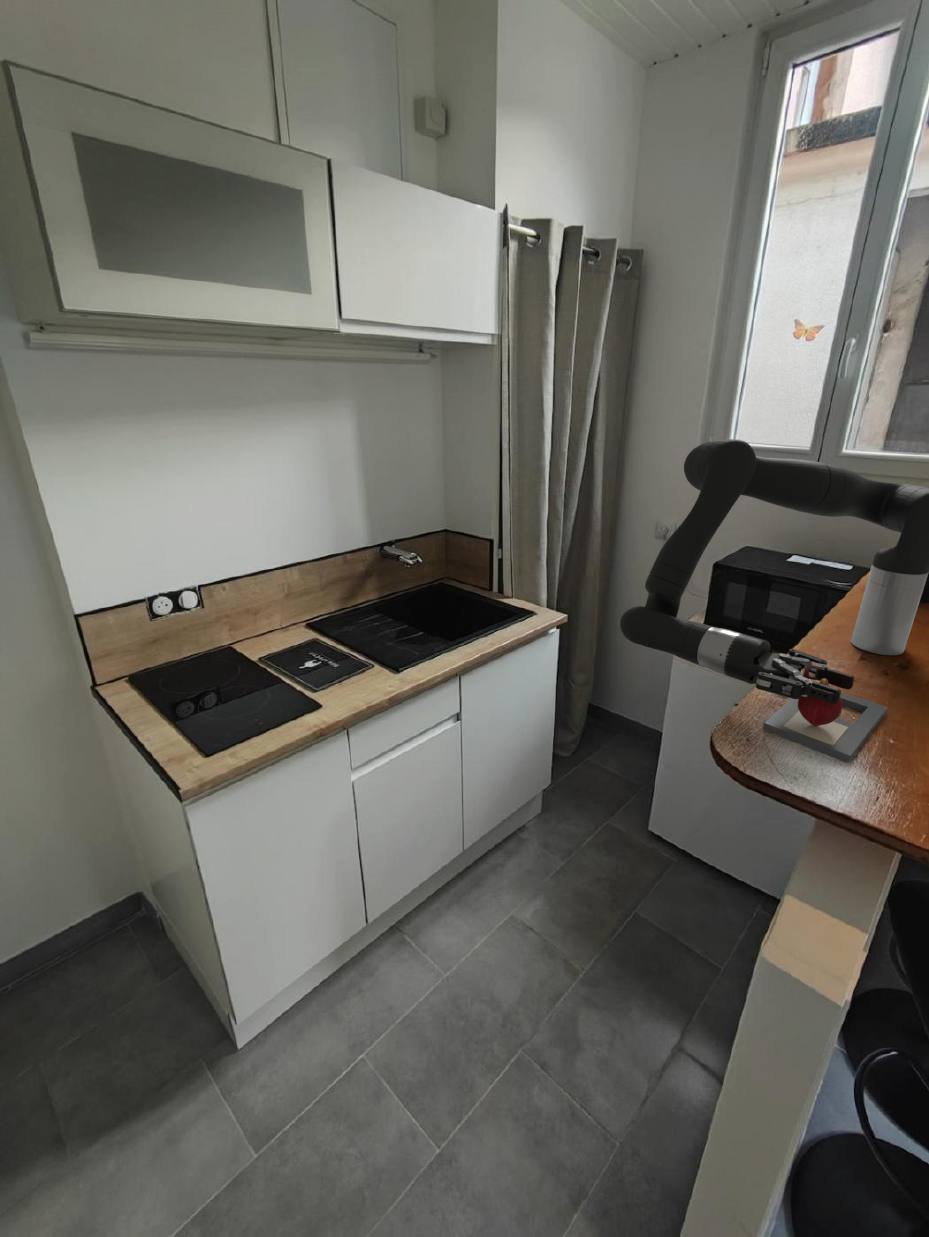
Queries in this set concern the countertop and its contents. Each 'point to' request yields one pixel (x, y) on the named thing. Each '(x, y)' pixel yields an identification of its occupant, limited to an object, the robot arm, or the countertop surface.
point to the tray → (828, 727)
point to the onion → (819, 709)
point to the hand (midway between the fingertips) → (845, 690)
